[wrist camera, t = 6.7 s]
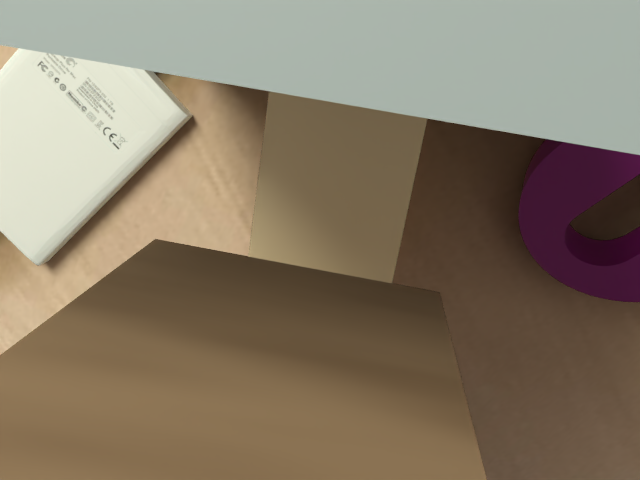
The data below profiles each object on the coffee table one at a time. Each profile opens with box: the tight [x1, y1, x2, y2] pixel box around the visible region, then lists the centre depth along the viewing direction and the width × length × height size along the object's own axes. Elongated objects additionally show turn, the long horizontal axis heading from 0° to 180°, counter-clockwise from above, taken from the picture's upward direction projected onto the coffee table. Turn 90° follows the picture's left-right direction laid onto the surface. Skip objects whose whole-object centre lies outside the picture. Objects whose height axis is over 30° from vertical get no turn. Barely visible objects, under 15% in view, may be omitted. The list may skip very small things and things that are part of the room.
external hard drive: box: [0, 48, 193, 265], centre depth 29 cm, size 2×8×12 cm
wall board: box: [0, 0, 640, 283], centre depth 17 cm, size 14×17×24 cm
